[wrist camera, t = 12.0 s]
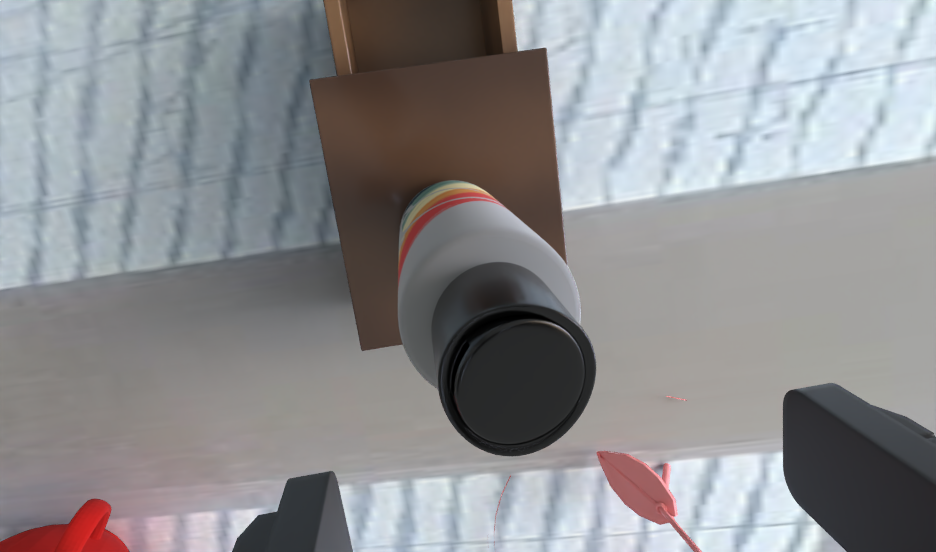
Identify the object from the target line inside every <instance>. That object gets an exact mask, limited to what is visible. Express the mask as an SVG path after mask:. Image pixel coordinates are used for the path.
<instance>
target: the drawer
mask: <svg viewBox="0 0 936 552" xmlns="http://www.w3.org/2000/svg"><path fill="white" fill-rule="evenodd" d="M323 2H324V7H325V13H326V18H327V24H328V29H329V35H330V40H331V46H332V51H333V57H334V62H335V68H336V73H337V76H340V75H348V74H355V73H362V72H370V71H377V70H385V69H392V68H399V67H407V66H414V65H422V64H429V63H436V62H444V61H451V60H458V59H466V58H473V57H481V56H488V55H495V54H503V53H510V52H518V51H517V42H516V32H515V23H514V14H513V5H512V0H323Z"/></svg>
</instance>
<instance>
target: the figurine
mask: <svg viewBox="0 0 936 552" xmlns="http://www.w3.org/2000/svg"><path fill="white" fill-rule="evenodd" d="M666 397H669V396H666ZM671 398H674V397H671ZM676 399H680V398H676ZM681 400H685V399H681ZM609 452H611V451H609ZM609 452H608V451H598V452H597V456H598V458H599V461H600V464H601V466H602V469H603V471H604V473H605V475H606V477H607V479H608V482H609V484H610V486H611V487H612V489H613V490H614V491H615V492H616V494H617V495H618V496H619V497H620V499H621V500H622V501H623V502H624V504H625V505H627V506H628V507H629V508H630V509H632V510H633V511H634V512H635V513H637V514H638V515H639V516H641V517H644V518H646V519H648V520H650V521H653V522H655V523H657V524H660V525H661V524H665V523H670V524H671V525H672V526H673V527H674V528H675V530H676V531H677V532H678V533H679V534H680V536H681V537H682V538H683V539H684V540H685V541H686V543H687V544H688V545H689V546H690V547H691V549H692V550H693V551H694V552H702V551H701V550H700V549H699V548H698V547H697V546H696V544H695V543H694V542H693V541H692V540H691V539H690V538H689V536H688V535H687V534H686V533H685V532H684V531H683V530H682V528H681V527H680V526H679V525H678V524H677V523H676V521H675V520H674V516H677V515H678V514H677V508H676V501H675V498H674V496H673V495H672V493H671V492H670V490H669V479H670V469H671V466H670V464H668V463H665V464H664V466H663V474H662V479H661V477H660V476H659V475H658V474H656V473H655V472H654V471H653V470H652V469H651V468H650V467H649V466H648V465H647V464H645V463H643V462H642V461H640V460H638V459H636V458H634V457H632V456H631V455H629V454H624V453H619V454H615V453H618V452H614V453H609ZM510 477H511V475H510ZM510 477H509V479H510ZM509 479H508V481H509ZM508 481H507V483H508ZM507 483H506V485H507ZM505 487H506V486H505ZM504 489H505V488H504ZM503 492H504V490H503ZM503 492H502V494H503ZM502 494H501V496H502ZM500 500H501V498H500ZM499 503H500V501H499ZM498 507H499V505H498ZM497 510H498V508H497ZM496 514H497V512H496ZM495 521H496V517H495ZM494 530H495V526H494ZM487 536H488V535H487ZM494 544H495V542H494ZM488 547H489V546H488Z"/></svg>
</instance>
